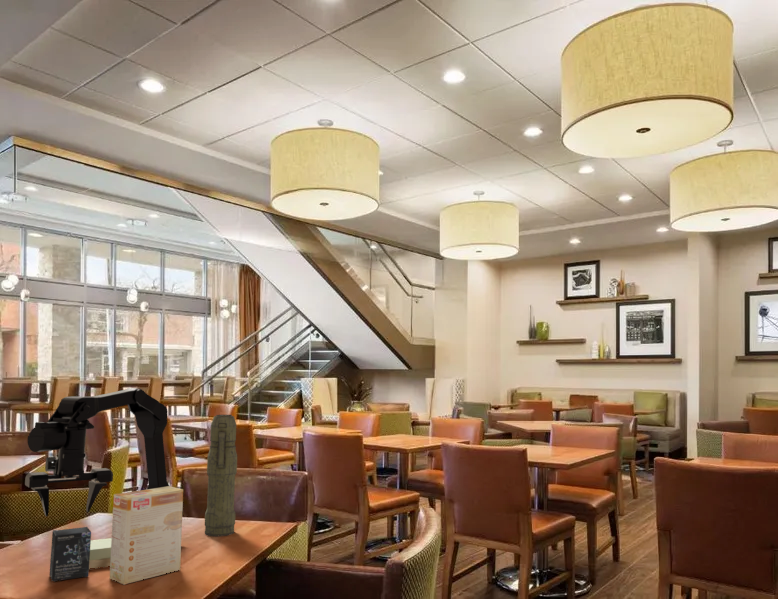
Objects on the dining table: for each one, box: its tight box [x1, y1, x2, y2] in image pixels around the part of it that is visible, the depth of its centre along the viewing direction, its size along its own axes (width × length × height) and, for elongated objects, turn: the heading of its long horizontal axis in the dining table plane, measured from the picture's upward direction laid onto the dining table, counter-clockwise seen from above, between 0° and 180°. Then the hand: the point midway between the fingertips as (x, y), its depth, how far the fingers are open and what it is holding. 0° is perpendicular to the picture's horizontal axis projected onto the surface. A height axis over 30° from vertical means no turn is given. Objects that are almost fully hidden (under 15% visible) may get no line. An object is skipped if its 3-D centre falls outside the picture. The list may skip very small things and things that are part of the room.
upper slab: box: [89, 537, 112, 560], centre depth 170 cm, size 10×10×2 cm
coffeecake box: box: [109, 485, 184, 586], centre depth 160 cm, size 15×7×20 cm, turn 141°
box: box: [49, 526, 92, 582], centre depth 157 cm, size 8×6×11 cm
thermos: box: [204, 414, 238, 537], centre depth 201 cm, size 9×12×35 cm
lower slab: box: [89, 558, 111, 570], centre depth 170 cm, size 12×12×2 cm
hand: (67, 514), depth 161 cm, fingers open, 9 cm apart
